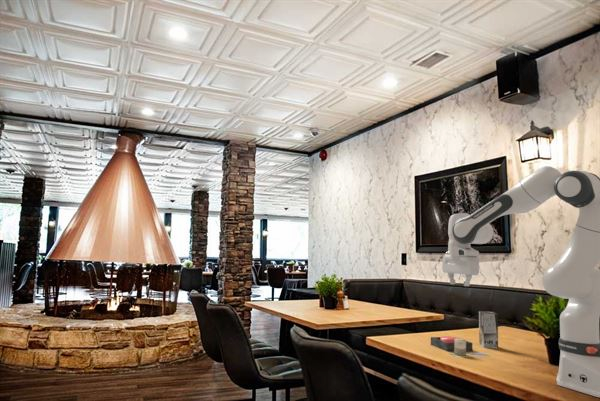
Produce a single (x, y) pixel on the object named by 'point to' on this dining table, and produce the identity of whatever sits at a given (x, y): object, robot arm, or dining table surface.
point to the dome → (448, 339)
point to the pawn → (460, 347)
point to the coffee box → (488, 329)
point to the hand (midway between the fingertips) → (459, 285)
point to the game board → (453, 347)
